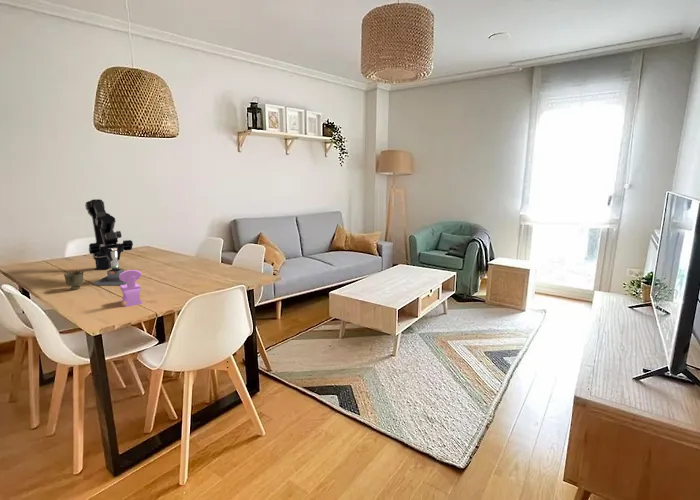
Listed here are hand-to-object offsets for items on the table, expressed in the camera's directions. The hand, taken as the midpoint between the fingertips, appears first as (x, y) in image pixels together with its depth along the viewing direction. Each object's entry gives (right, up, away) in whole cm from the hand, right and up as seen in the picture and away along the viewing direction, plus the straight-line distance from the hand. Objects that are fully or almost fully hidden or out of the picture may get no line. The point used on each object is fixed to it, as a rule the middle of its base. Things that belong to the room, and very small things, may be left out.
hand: (115, 260), depth 186 cm
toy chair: (+25, -18, -27) cm, 41 cm away
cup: (-12, -14, -11) cm, 21 cm away
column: (-1, -7, +2) cm, 8 cm away
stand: (-1, -11, +3) cm, 12 cm away
